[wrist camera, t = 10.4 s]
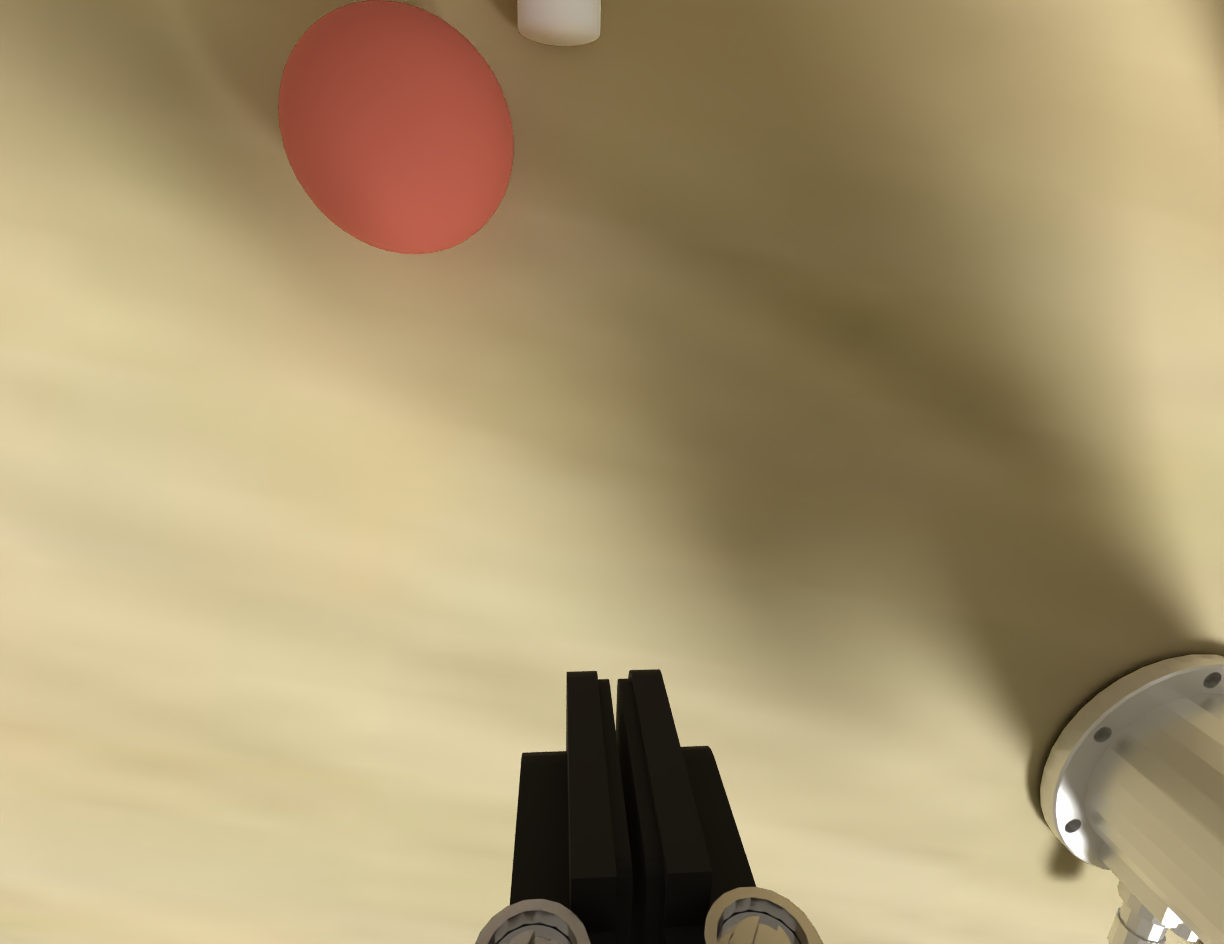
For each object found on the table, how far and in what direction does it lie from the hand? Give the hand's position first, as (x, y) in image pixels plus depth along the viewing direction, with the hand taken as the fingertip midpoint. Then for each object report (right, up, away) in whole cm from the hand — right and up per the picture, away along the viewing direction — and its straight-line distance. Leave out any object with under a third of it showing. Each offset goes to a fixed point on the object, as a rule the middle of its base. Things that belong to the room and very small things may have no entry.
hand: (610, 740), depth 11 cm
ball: (-6, +14, +6) cm, 16 cm away
